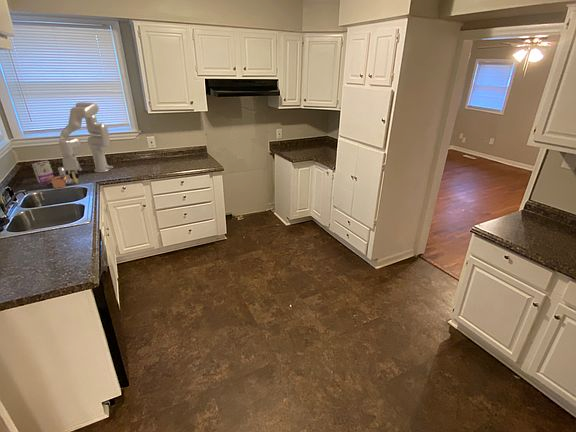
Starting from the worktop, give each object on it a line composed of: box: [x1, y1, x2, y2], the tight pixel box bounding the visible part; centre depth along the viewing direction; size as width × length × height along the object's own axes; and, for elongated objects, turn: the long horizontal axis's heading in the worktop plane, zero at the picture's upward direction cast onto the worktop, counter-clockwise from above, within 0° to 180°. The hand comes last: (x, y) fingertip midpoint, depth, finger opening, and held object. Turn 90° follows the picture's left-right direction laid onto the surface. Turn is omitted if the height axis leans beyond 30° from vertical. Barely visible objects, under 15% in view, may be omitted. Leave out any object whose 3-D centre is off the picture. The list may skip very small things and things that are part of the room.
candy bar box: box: [31, 160, 55, 184], centre depth 255 cm, size 11×5×16 cm, turn 148°
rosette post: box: [50, 166, 73, 189], centre depth 252 cm, size 10×20×12 cm, turn 20°
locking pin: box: [71, 170, 80, 185], centre depth 253 cm, size 3×3×10 cm
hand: (74, 178), depth 253 cm, fingers closed on locking pin, 3 cm apart
